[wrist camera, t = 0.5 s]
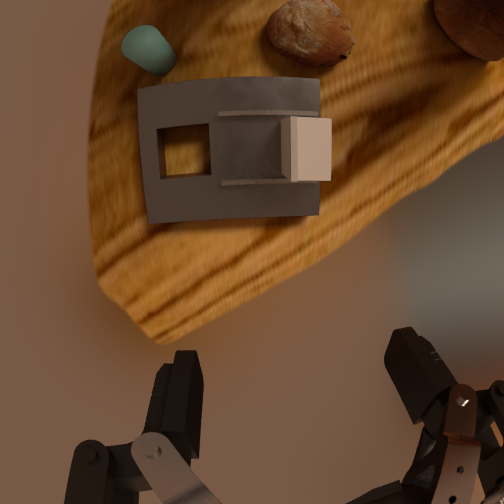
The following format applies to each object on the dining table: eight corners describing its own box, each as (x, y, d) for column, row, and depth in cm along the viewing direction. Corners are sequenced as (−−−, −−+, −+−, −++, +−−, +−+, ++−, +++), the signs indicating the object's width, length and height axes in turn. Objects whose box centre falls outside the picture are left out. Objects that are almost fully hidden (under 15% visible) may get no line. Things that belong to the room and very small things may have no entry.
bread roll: (302, 10, 26) (291, -26, 19) (368, 40, 25) (371, 4, 17) (262, 53, 29) (241, 21, 22) (329, 88, 28) (324, 55, 20)
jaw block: (280, 119, 27) (290, 116, 22) (316, 120, 27) (333, 118, 22) (281, 173, 29) (291, 181, 24) (316, 173, 30) (332, 181, 24)
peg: (145, 49, 25) (122, 30, 17) (177, 44, 25) (160, 21, 18) (145, 77, 26) (120, 63, 19) (177, 72, 26) (159, 55, 19)
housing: (145, 92, 27) (134, 88, 24) (312, 83, 28) (321, 77, 24) (155, 216, 34) (146, 226, 30) (312, 208, 34) (320, 217, 31)
